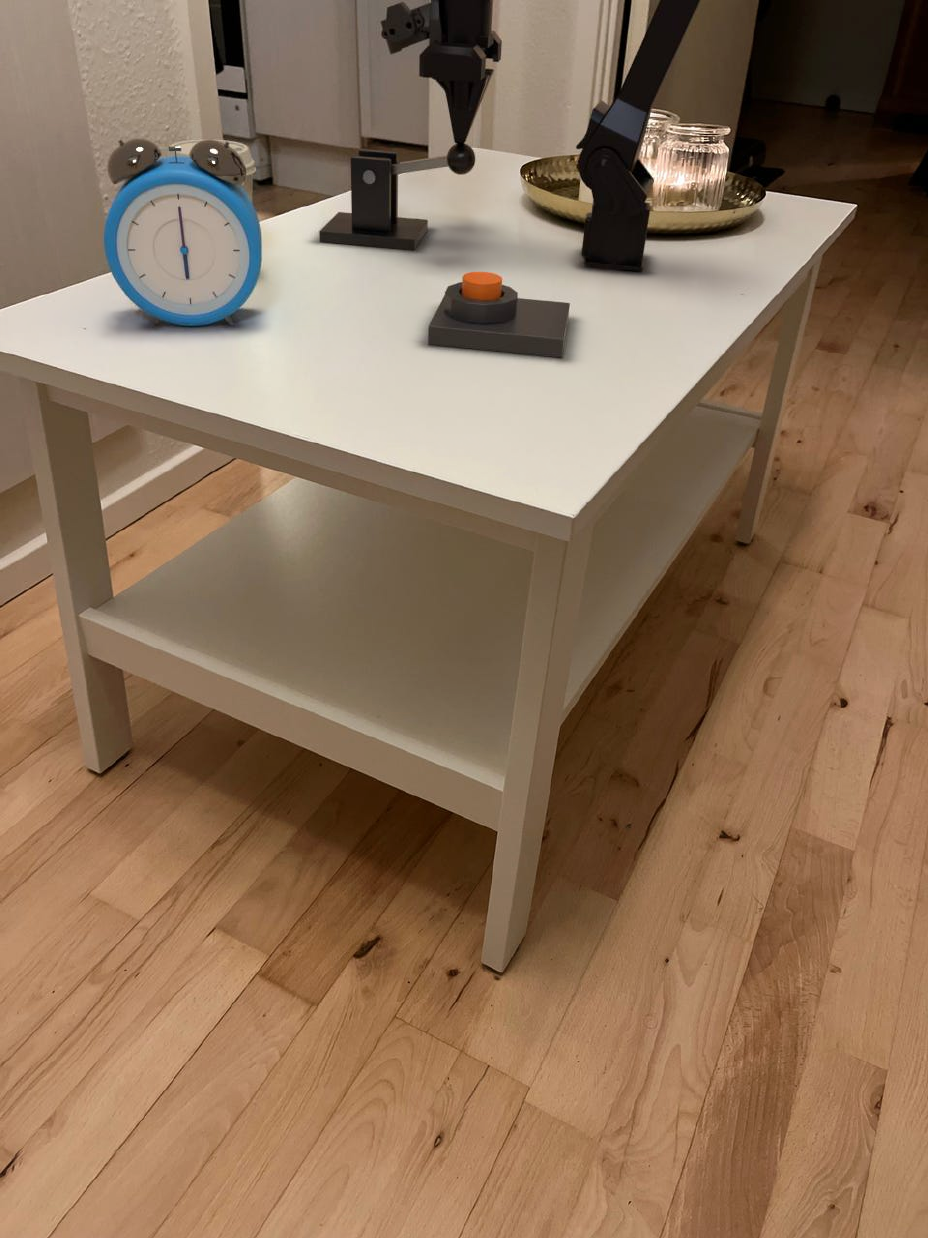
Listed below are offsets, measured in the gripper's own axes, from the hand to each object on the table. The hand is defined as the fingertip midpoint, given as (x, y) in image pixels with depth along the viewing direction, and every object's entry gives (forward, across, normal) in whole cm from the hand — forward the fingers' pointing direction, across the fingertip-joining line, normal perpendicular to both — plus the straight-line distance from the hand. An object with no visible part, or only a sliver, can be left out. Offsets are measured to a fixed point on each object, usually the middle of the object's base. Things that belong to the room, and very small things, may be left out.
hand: (459, 142), depth 109 cm
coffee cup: (+11, +19, -22) cm, 31 cm away
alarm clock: (+11, +32, -20) cm, 39 cm away
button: (+8, +28, +6) cm, 30 cm away
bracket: (+11, 0, -10) cm, 14 cm away
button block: (+11, +28, +8) cm, 31 cm away
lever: (+4, 0, -4) cm, 6 cm away
